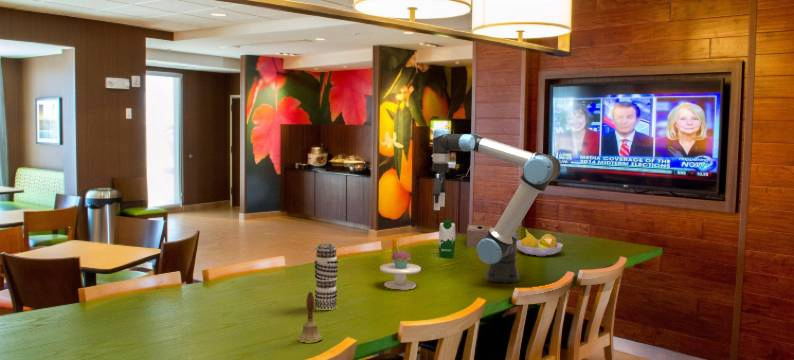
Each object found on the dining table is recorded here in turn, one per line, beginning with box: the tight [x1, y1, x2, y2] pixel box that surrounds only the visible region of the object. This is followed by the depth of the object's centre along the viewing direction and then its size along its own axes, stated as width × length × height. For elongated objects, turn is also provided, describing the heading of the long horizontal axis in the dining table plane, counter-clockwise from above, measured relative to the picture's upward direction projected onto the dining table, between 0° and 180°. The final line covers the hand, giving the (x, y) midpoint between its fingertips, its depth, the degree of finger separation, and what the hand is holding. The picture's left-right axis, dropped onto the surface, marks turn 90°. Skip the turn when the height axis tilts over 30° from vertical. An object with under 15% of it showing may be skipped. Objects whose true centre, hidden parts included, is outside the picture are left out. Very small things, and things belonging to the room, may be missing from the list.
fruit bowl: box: [516, 229, 563, 257], centre depth 373 cm, size 28×27×11 cm
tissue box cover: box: [466, 223, 493, 248], centre depth 399 cm, size 26×14×10 cm, turn 172°
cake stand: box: [379, 262, 422, 291], centre depth 293 cm, size 18×18×8 cm
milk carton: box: [438, 219, 456, 259], centre depth 358 cm, size 9×9×20 cm
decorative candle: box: [313, 243, 339, 309], centre depth 256 cm, size 9×9×25 cm
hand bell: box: [298, 291, 323, 341], centre depth 220 cm, size 8×8×16 cm
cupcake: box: [390, 241, 412, 269], centre depth 292 cm, size 9×8×12 cm
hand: (439, 208), depth 309 cm, fingers open, 13 cm apart
